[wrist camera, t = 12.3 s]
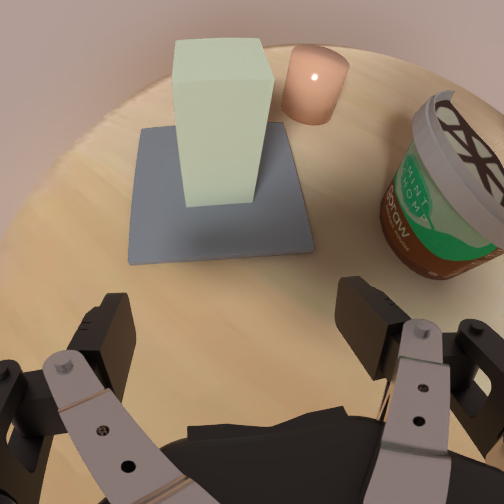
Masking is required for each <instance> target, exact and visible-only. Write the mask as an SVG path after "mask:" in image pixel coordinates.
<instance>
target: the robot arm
mask: <svg viewBox="0 0 504 504" xmlns="http://www.w3.org/2000/svg"><path fill="white" fill-rule="evenodd" d="M335 322H336V326H337V328H338V330H339V331H340V332H341V334H342V335H343V337H344V338H345V340H346V341H347V343H348V344H349V346H350V347H351V349H352V350H353V352H354V353H355V355H356V356H357V358H358V359H359V361H360V362H361V363H362V365H363V366H364V368H365V369H366V371H367V372H368V374H369V375H370V377H371V378H372V380H373V381H375V380H379V379H382V378H386V379H387V382H386V385H385V389H384V392H383V396H382V400H381V404H380V407H379V411H378V414H377V418H376V419H373V418H369V417H362V416H348V415H347V413H346V411H345V409H344V407H343V406H339V407H335V408H330V409H325V410H320V411H315V412H310V413H306V414H304V415H301V416H299V417H296V418H294V419H291V420H288V421H286V422H283V423H280V424H278V425H275V426H272V427H258V426H245V425H234V424H218V425H203V426H187V438H183V439H180V440H177V441H174V442H171V443H169V444H167V445H165V446H163V447H161V448H160V449H159V448H158V447H157V446H156V445H155V444H154V443H153V442H152V441H151V439H150V438H149V437H148V436H147V435H146V434H145V432H144V431H143V430H142V429H141V428H140V427H139V425H138V424H137V423H136V422H135V420H134V419H133V418H132V417H131V416H130V414H129V413H128V412H127V410H126V409H125V408H124V407H123V405H122V399H123V395H124V390H125V386H126V382H127V377H128V373H129V369H130V365H131V361H132V357H133V353H134V349H135V345H136V331H135V326H134V321H133V317H132V312H131V307H130V302H129V298H128V295H127V293H107V294H106V296H105V297H104V299H103V301H102V303H101V305H100V307H94V308H93V309H91V310H90V311H89V312H88V313H86V315H85V316H84V318H83V320H82V322H81V324H80V325H79V327H78V330H77V331H76V332H75V334H74V336H73V338H72V340H71V342H70V344H69V345H68V347H67V349H66V350H63V351H59V352H56V353H54V354H53V355H51V356H50V357H48V358H47V359H46V361H45V362H44V364H43V369H42V370H36V371H30V372H24V373H23V371H22V369H21V367H20V365H19V364H18V363H17V362H16V361H14V360H3V361H0V504H39V500H40V494H41V489H42V484H43V479H44V474H45V470H46V465H47V461H48V457H49V452H50V448H51V445H52V441H53V437H54V435H57V434H63V433H69V435H70V437H71V439H72V441H73V443H74V445H75V447H76V448H77V450H78V452H79V454H80V456H81V457H82V459H83V461H84V463H85V464H86V466H87V468H88V469H89V471H90V473H91V474H92V476H93V478H94V479H95V481H96V482H97V484H98V486H99V487H100V489H101V490H102V492H103V493H104V495H105V496H106V497H105V498H104V499H103V500H102V501H101V502H99V503H98V504H504V339H503V338H502V337H501V336H500V335H498V334H497V333H496V332H495V331H494V330H493V329H492V328H491V327H489V326H488V325H487V324H485V323H484V322H482V321H479V320H475V319H465V320H463V321H461V322H460V325H459V328H458V331H457V333H442V331H441V329H440V328H439V327H438V326H437V325H436V324H434V323H433V322H430V321H428V320H424V319H411V318H410V317H409V316H408V315H407V314H406V313H405V312H404V311H403V310H402V309H401V308H400V307H398V306H397V305H395V303H394V302H393V301H392V300H390V298H389V297H388V296H387V295H386V294H385V293H384V292H382V291H380V290H378V289H376V288H374V287H372V286H370V285H369V284H368V283H367V282H366V281H365V280H364V279H362V278H361V277H360V276H353V277H343V278H341V279H340V280H339V283H338V291H337V299H336V307H335ZM479 368H480V369H481V370H482V371H483V372H484V373H485V374H486V375H487V376H488V377H489V379H490V381H491V386H492V387H491V392H490V394H489V396H488V397H487V395H486V394H485V393H484V392H483V391H482V389H481V388H480V387H479V386H478V385H477V384H476V382H475V381H474V378H475V376H476V373H477V371H478V369H479ZM450 409H451V411H452V412H453V413H454V415H455V416H456V418H457V419H458V421H459V422H460V423H461V425H462V426H463V428H464V429H465V431H466V432H467V434H468V435H469V437H470V438H471V439H472V441H473V442H474V444H475V445H476V447H477V448H478V450H479V451H480V453H481V454H482V456H483V458H484V459H485V463H486V464H485V463H482V462H479V461H476V460H474V459H471V458H468V457H466V456H463V455H460V454H458V453H455V452H452V451H450V450H447V446H448V434H449V416H450ZM11 423H12V424H13V426H14V429H13V432H12V434H11V437H10V440H9V443H8V445H7V441H6V435H7V432H8V429H9V426H10V424H11Z"/></svg>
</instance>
